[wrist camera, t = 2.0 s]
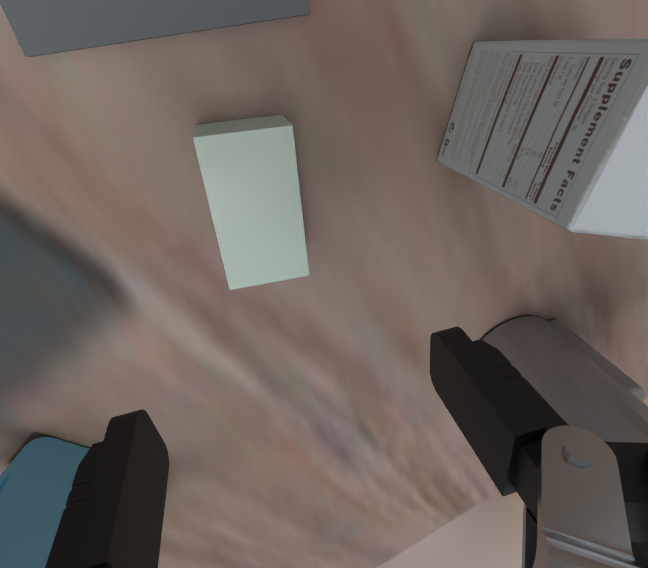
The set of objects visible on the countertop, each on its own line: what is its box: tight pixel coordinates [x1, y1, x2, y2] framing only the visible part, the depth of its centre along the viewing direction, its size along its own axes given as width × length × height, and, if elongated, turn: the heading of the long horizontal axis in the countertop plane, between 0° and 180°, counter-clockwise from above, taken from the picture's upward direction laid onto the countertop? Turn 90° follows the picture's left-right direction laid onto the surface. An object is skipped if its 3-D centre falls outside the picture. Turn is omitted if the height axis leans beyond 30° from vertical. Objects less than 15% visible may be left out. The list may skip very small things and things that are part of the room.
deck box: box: [193, 115, 309, 290], centre depth 24 cm, size 5×9×4 cm, turn 4°
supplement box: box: [437, 39, 648, 239], centre depth 21 cm, size 7×7×13 cm
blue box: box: [0, 437, 167, 568], centre depth 29 cm, size 12×4×12 cm, turn 46°
